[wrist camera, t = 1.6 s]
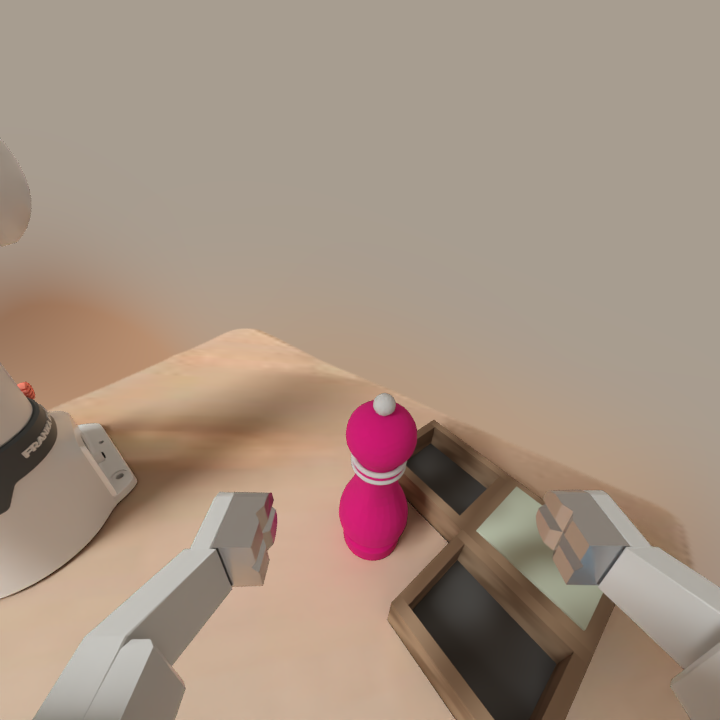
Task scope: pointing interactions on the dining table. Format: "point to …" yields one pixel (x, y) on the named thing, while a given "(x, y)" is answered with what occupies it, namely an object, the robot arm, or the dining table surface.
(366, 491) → the pepper mill
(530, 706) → the box
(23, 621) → the dining table surface
